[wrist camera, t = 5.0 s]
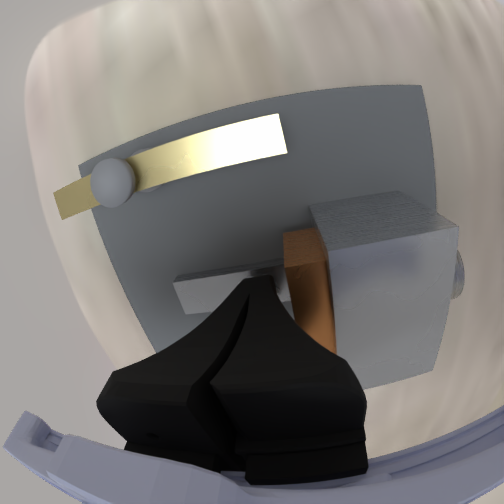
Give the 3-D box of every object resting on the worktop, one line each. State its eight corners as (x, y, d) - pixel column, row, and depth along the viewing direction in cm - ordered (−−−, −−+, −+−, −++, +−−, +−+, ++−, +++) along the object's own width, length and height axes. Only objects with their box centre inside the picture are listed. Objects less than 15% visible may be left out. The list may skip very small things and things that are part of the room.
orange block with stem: (438, 205, 9) (478, 230, 7) (432, 301, 11) (458, 339, 8) (282, 232, 10) (284, 268, 8) (300, 329, 12) (304, 377, 10)
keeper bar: (277, 117, 9) (277, 113, 7) (285, 150, 9) (287, 152, 8) (76, 184, 10) (53, 192, 9) (83, 208, 11) (62, 220, 9)
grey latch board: (417, 86, 8) (466, 75, 5) (424, 315, 13) (451, 360, 10) (83, 164, 11) (29, 180, 8) (161, 353, 16) (140, 399, 12)
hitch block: (431, 183, 10) (501, 217, 6) (427, 294, 12) (470, 356, 8) (165, 231, 12) (111, 287, 8) (204, 332, 15) (179, 404, 10)
